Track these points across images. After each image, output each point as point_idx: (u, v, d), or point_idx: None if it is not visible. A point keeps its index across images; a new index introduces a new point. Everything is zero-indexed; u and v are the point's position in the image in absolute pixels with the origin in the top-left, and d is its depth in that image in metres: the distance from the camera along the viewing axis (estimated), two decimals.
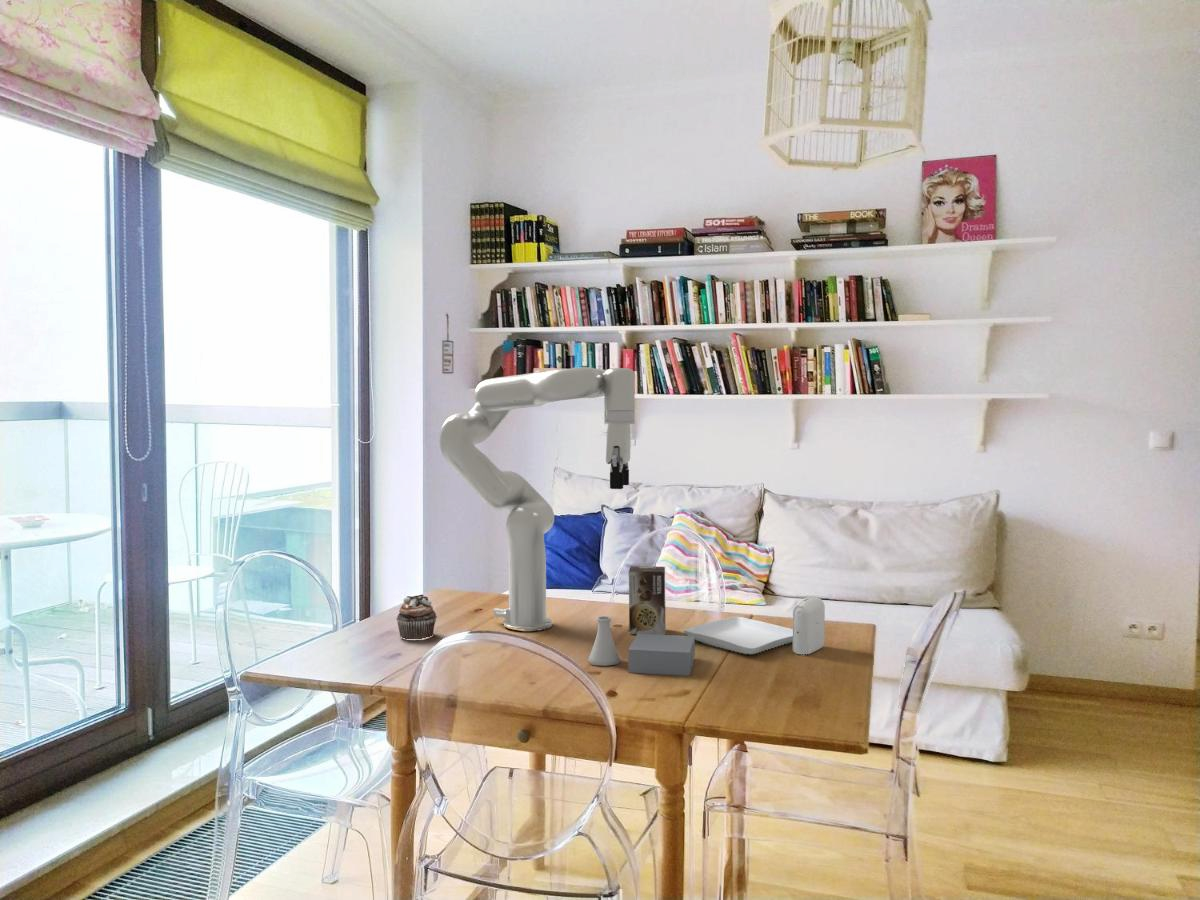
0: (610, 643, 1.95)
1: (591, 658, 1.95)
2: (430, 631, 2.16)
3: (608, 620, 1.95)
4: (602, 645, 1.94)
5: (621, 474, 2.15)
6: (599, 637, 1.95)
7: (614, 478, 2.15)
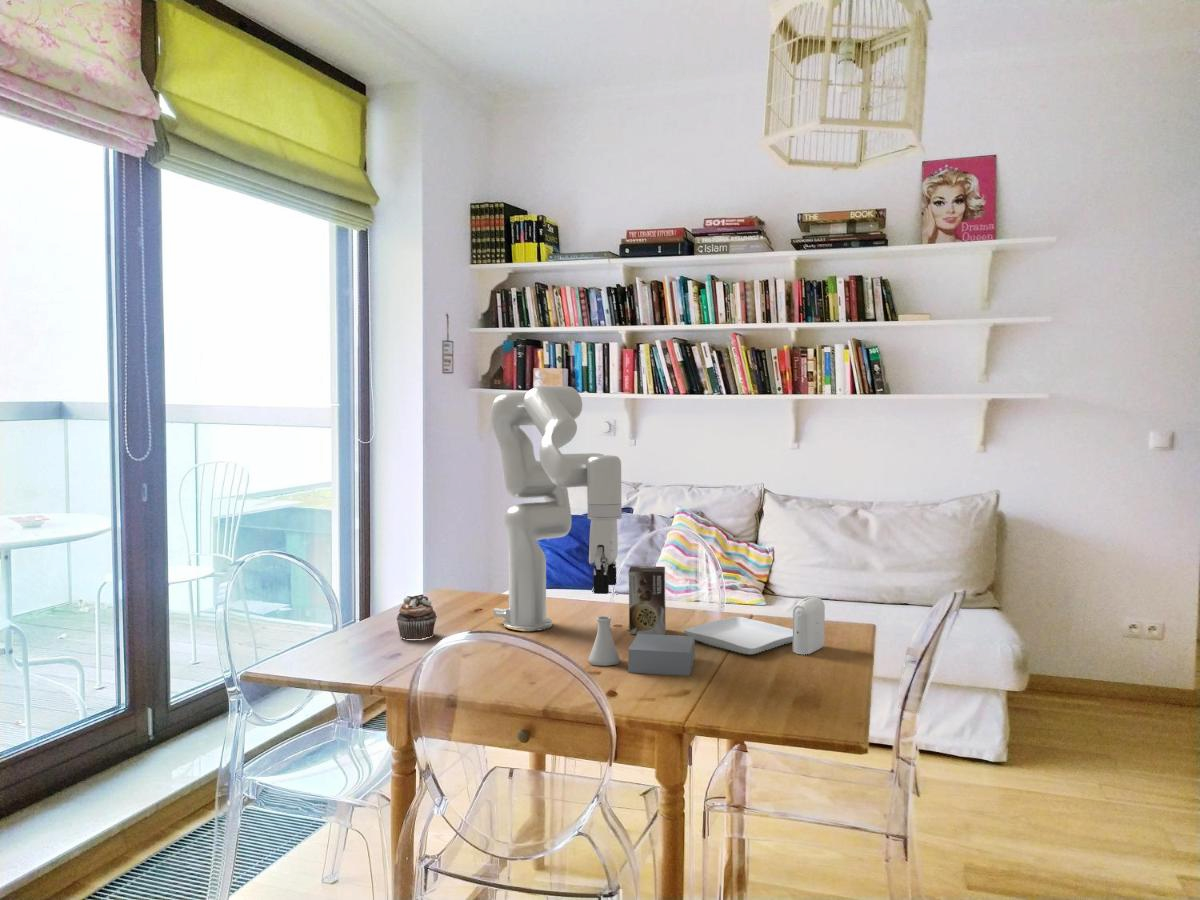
0: (610, 643, 1.95)
1: (591, 658, 1.95)
2: (430, 631, 2.16)
3: (608, 620, 1.95)
4: (602, 645, 1.94)
5: (606, 577, 1.90)
6: (599, 637, 1.95)
7: (598, 582, 1.90)
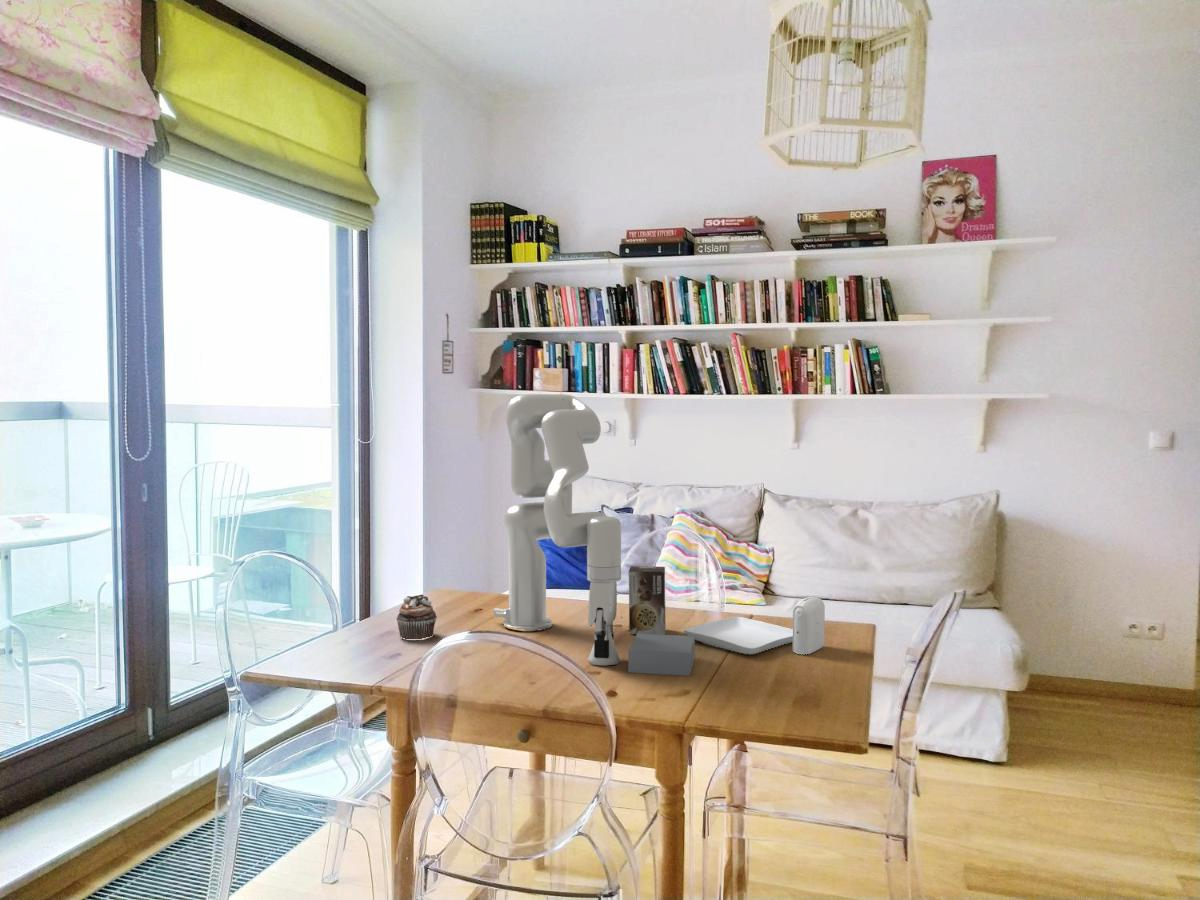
0: (610, 643, 1.95)
1: (591, 658, 1.95)
2: (430, 631, 2.16)
3: None
4: None
5: (607, 642, 1.93)
6: None
7: (599, 647, 1.93)
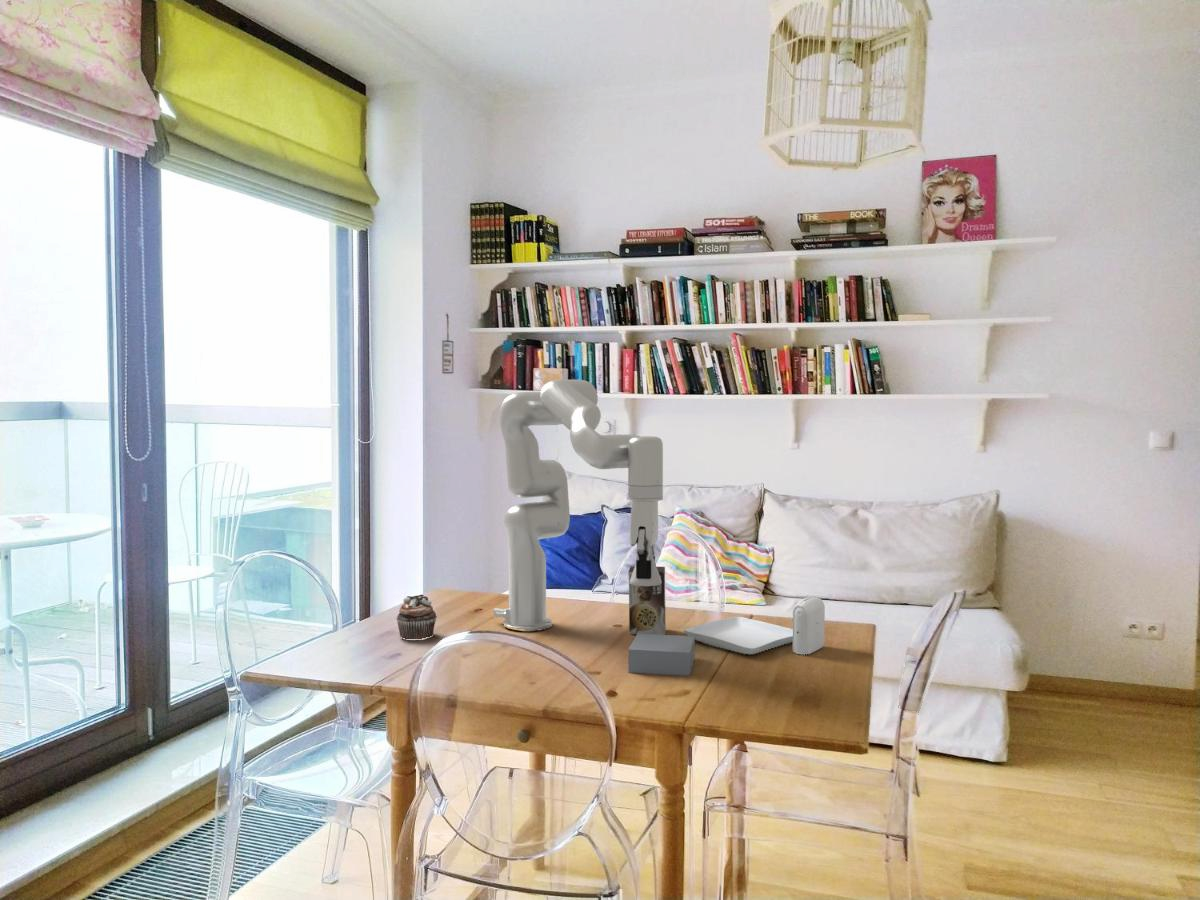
0: (652, 564, 1.92)
1: (633, 580, 1.92)
2: (430, 631, 2.16)
3: None
4: None
5: (649, 562, 1.90)
6: None
7: (641, 567, 1.90)
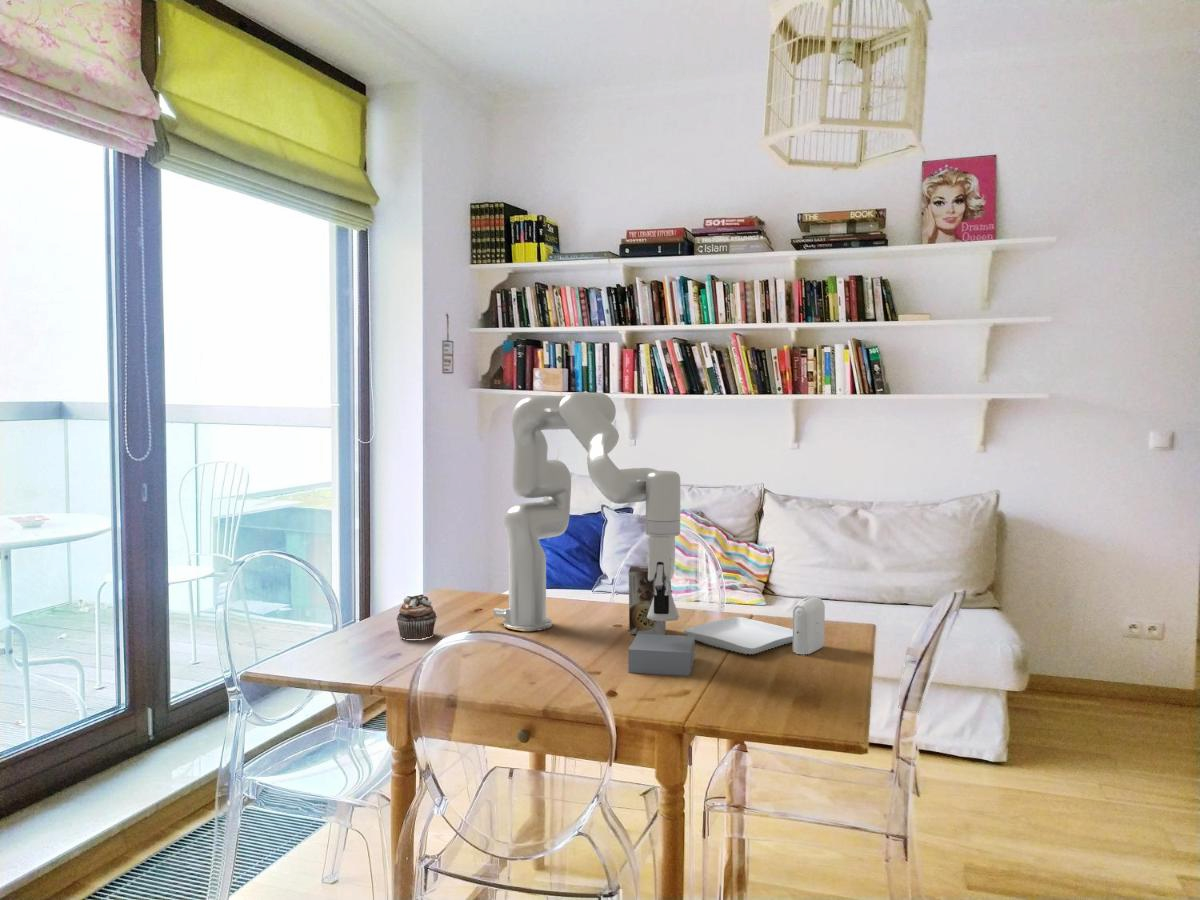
0: (669, 599, 1.92)
1: (650, 614, 1.92)
2: (430, 631, 2.16)
3: None
4: None
5: (667, 597, 1.90)
6: None
7: (659, 602, 1.90)
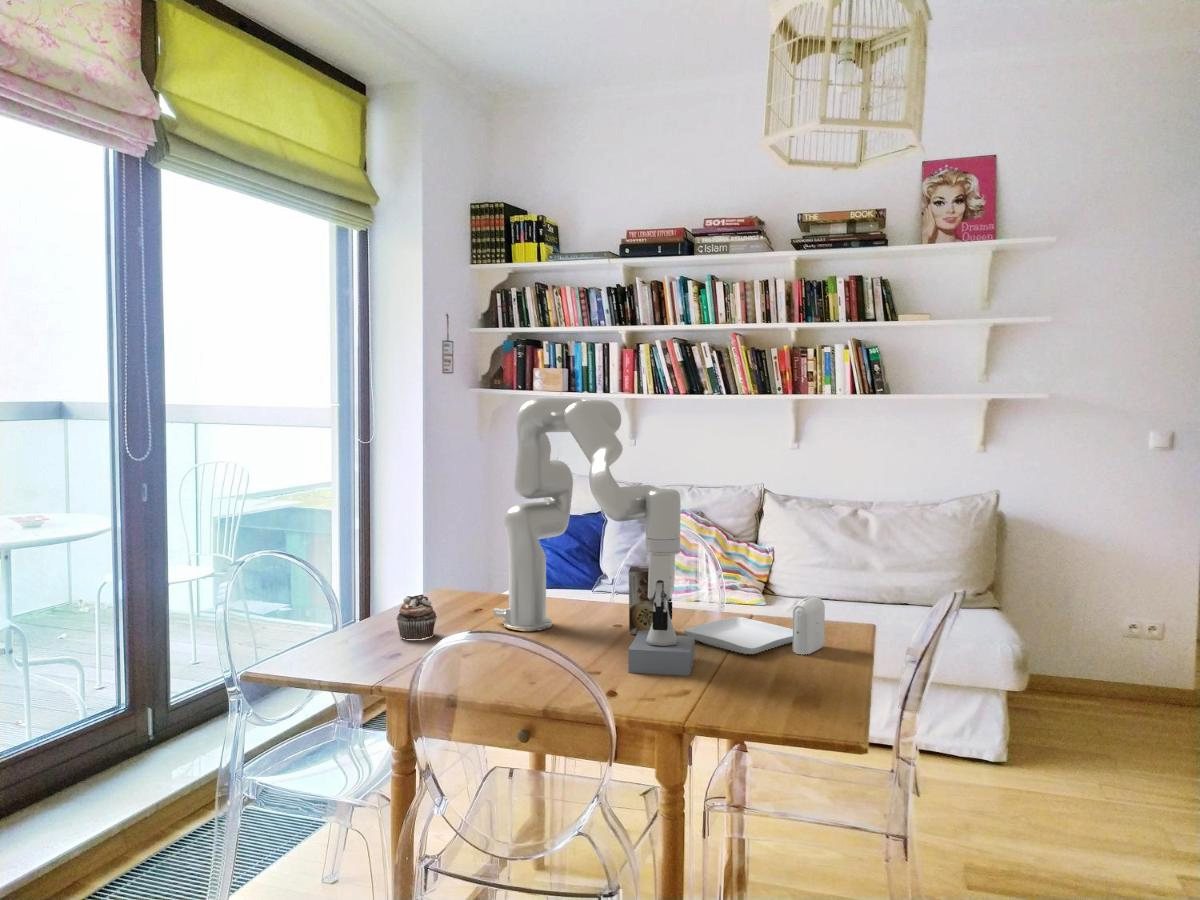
0: (669, 623, 1.92)
1: (649, 639, 1.93)
2: (430, 631, 2.16)
3: None
4: None
5: (665, 614, 1.89)
6: None
7: (657, 618, 1.88)
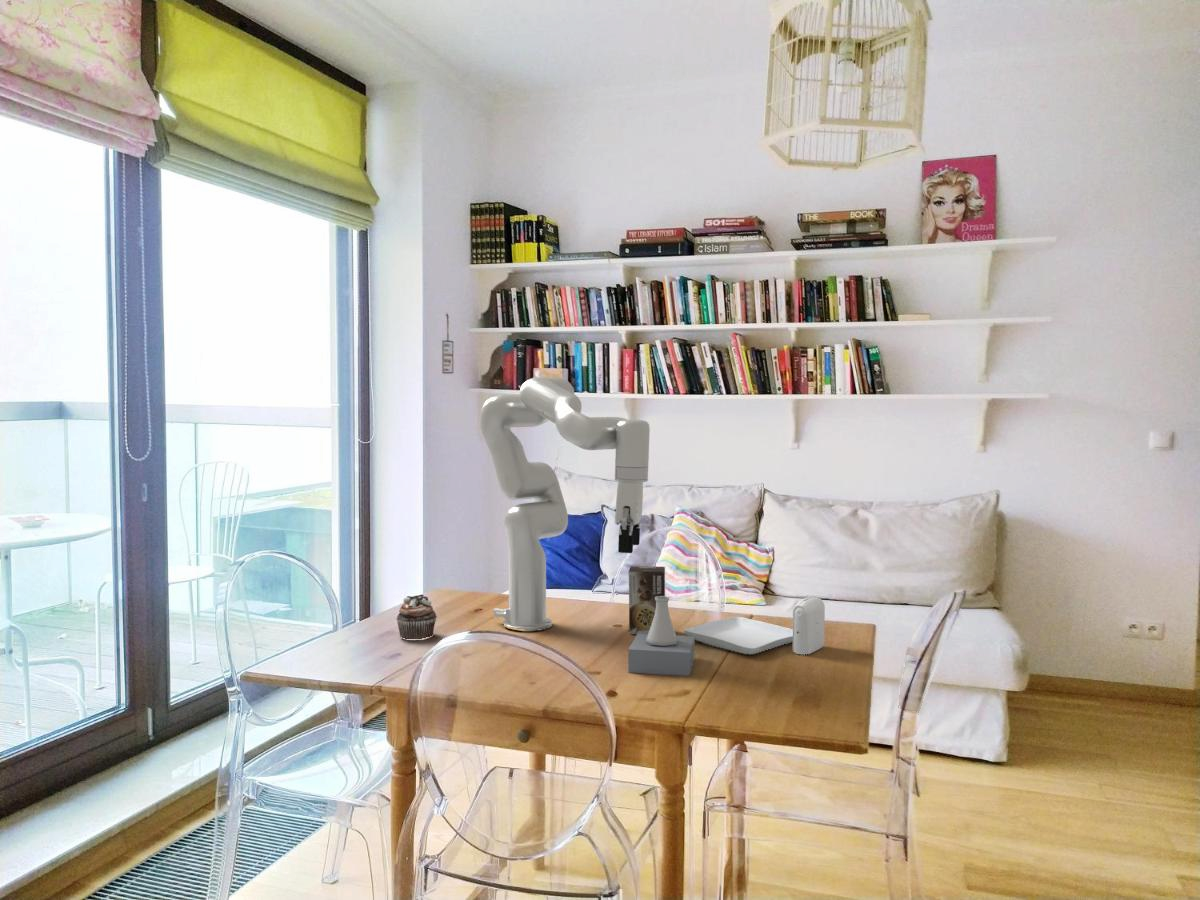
0: (669, 623, 1.92)
1: (649, 639, 1.93)
2: (430, 631, 2.16)
3: (666, 600, 1.92)
4: (660, 625, 1.92)
5: (631, 537, 1.97)
6: (657, 617, 1.93)
7: (623, 541, 1.97)
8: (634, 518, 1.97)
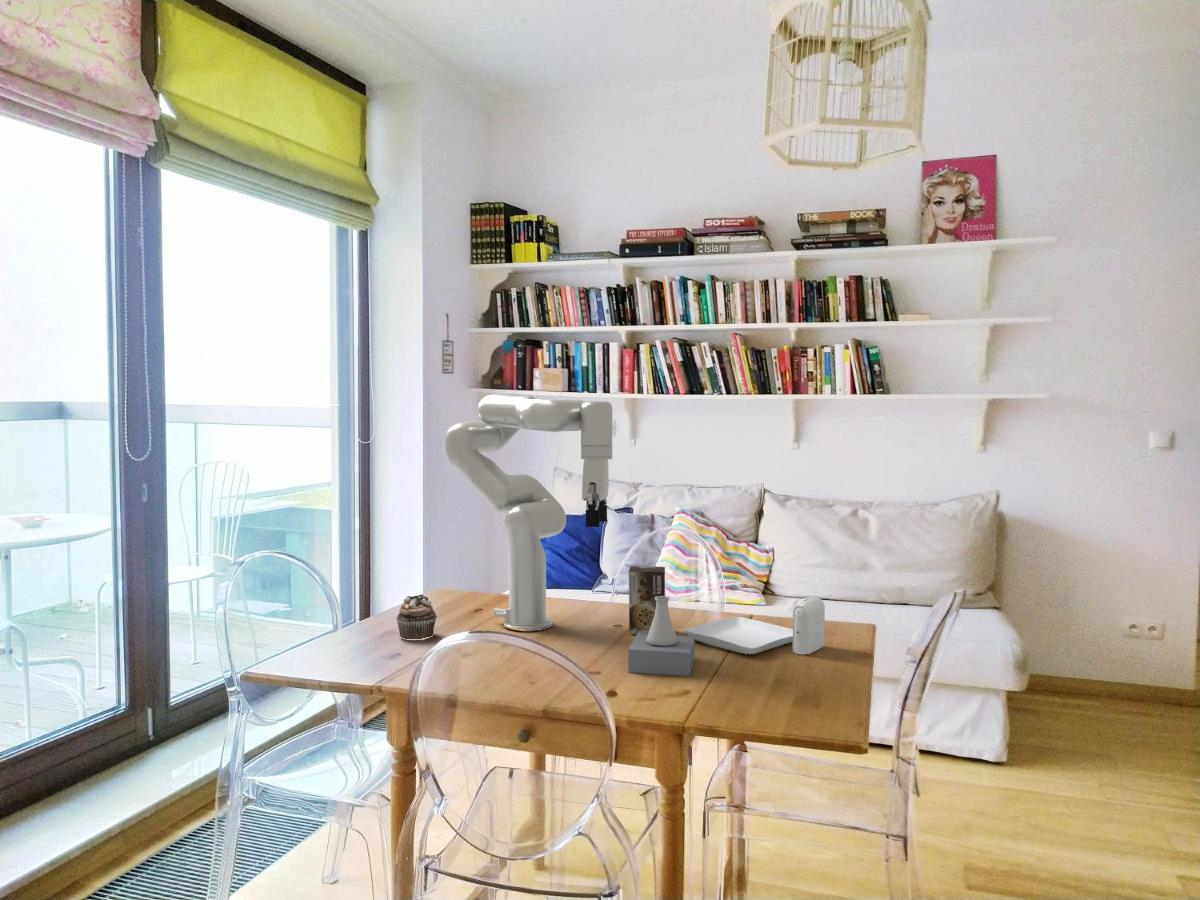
0: (669, 623, 1.92)
1: (649, 639, 1.93)
2: (430, 631, 2.16)
3: (666, 600, 1.92)
4: (660, 625, 1.92)
5: (597, 512, 2.07)
6: (657, 617, 1.93)
7: (590, 516, 2.07)
8: (600, 493, 2.07)
